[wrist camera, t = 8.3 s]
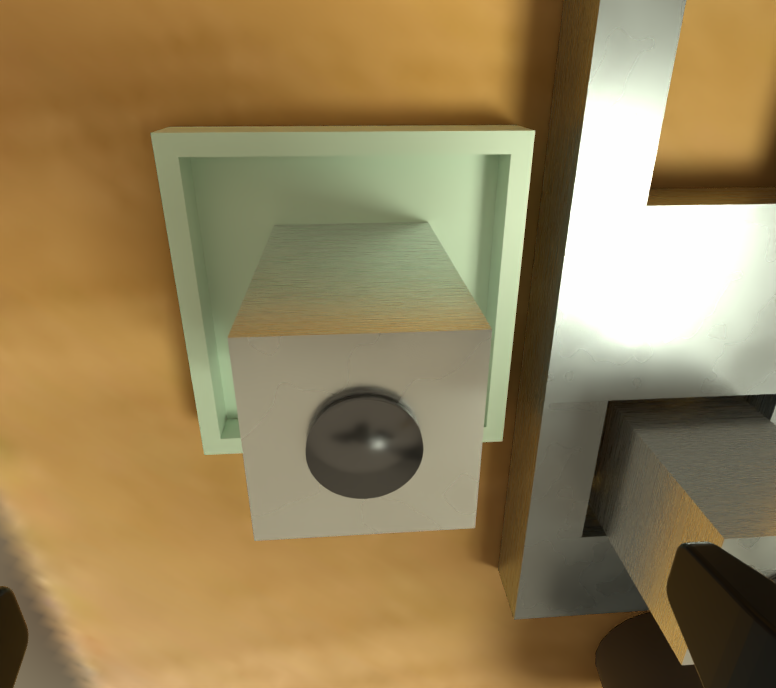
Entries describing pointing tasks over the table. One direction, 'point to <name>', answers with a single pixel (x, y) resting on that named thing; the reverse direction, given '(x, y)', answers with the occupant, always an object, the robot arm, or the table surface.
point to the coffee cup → (642, 658)
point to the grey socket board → (622, 300)
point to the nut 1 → (359, 383)
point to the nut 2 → (685, 489)
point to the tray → (336, 206)
